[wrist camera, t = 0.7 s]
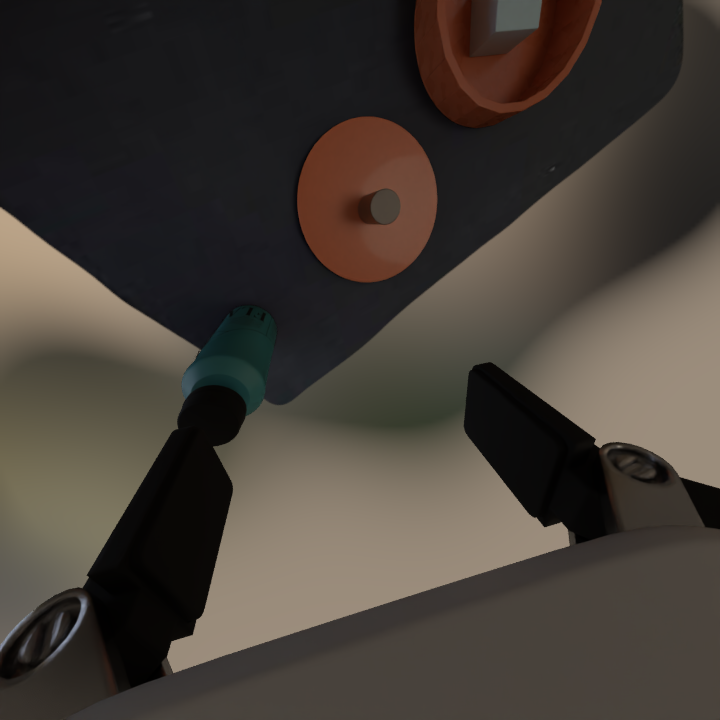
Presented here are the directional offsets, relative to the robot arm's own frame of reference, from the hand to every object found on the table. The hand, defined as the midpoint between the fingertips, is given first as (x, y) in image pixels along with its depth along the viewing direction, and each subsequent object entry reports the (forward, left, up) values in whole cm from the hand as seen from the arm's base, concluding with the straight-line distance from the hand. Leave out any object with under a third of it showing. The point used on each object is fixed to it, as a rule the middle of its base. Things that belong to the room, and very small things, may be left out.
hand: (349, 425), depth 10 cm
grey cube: (-21, +22, -28) cm, 41 cm away
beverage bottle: (+4, -9, -28) cm, 30 cm away
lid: (-7, +8, -28) cm, 29 cm away
